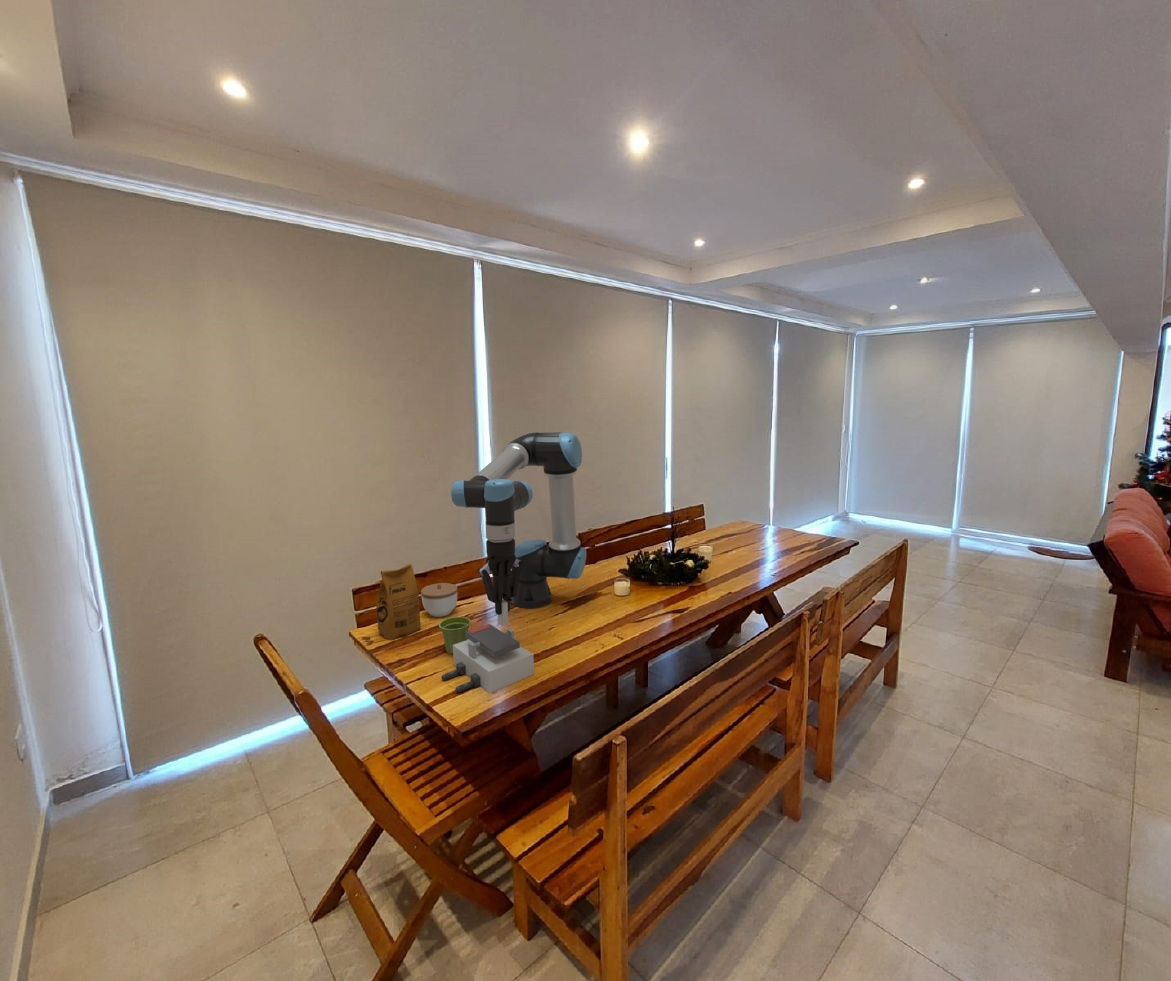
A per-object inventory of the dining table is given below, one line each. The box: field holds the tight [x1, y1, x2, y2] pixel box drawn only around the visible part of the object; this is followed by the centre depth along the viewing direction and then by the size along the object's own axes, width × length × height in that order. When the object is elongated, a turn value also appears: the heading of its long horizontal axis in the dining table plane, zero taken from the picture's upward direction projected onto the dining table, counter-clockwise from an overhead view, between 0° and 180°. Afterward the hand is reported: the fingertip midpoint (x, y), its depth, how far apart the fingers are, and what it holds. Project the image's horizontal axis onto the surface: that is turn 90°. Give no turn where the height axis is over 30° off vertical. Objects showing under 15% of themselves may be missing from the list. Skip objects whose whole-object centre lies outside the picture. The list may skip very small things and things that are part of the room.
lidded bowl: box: [420, 582, 458, 618], centre depth 183 cm, size 13×13×11 cm
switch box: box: [441, 628, 535, 694], centre depth 141 cm, size 21×20×10 cm
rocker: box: [465, 623, 521, 657], centre depth 143 cm, size 11×16×2 cm, turn 42°
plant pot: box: [438, 616, 472, 654], centre depth 156 cm, size 9×9×9 cm
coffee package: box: [376, 563, 421, 641], centre depth 167 cm, size 10×12×22 cm
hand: (503, 624), depth 137 cm, fingers closed
